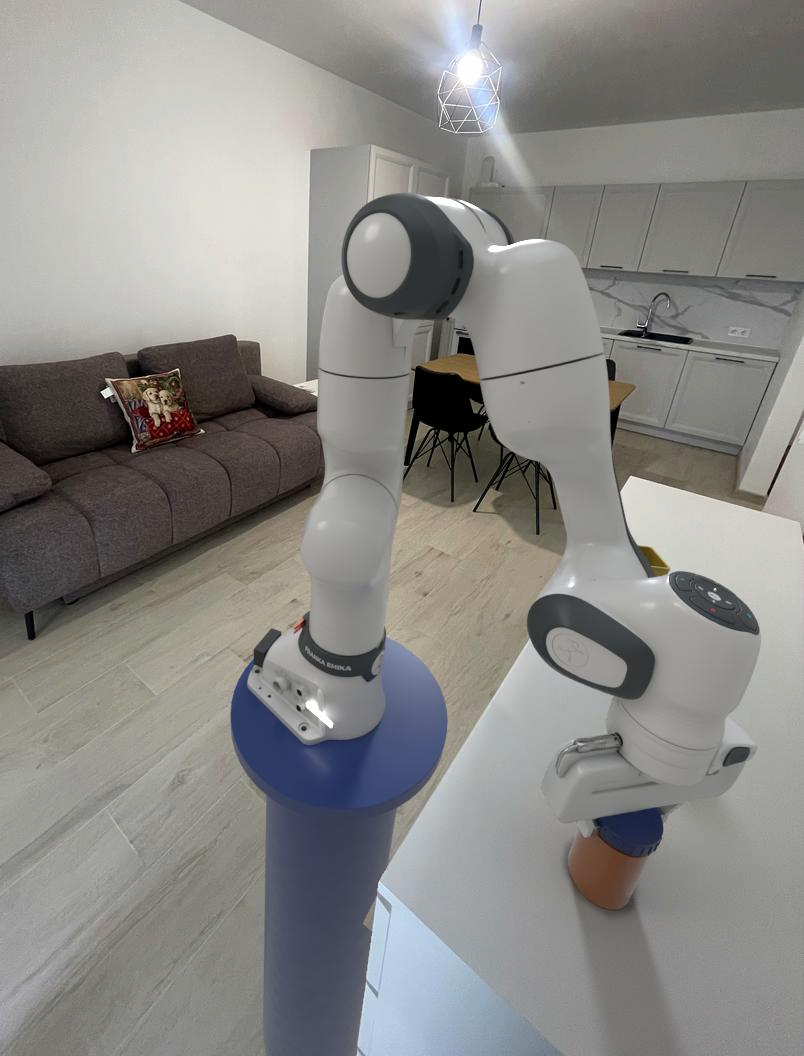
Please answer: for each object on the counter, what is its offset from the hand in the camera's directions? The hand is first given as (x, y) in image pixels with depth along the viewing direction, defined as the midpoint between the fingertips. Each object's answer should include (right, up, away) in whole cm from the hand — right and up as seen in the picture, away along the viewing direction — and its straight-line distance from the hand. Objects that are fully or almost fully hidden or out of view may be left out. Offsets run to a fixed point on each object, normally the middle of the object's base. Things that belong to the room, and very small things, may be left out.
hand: (620, 823), depth 53 cm
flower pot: (+32, +10, +56) cm, 66 cm away
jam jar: (-1, -8, +3) cm, 9 cm away
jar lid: (0, +2, -1) cm, 2 cm away
